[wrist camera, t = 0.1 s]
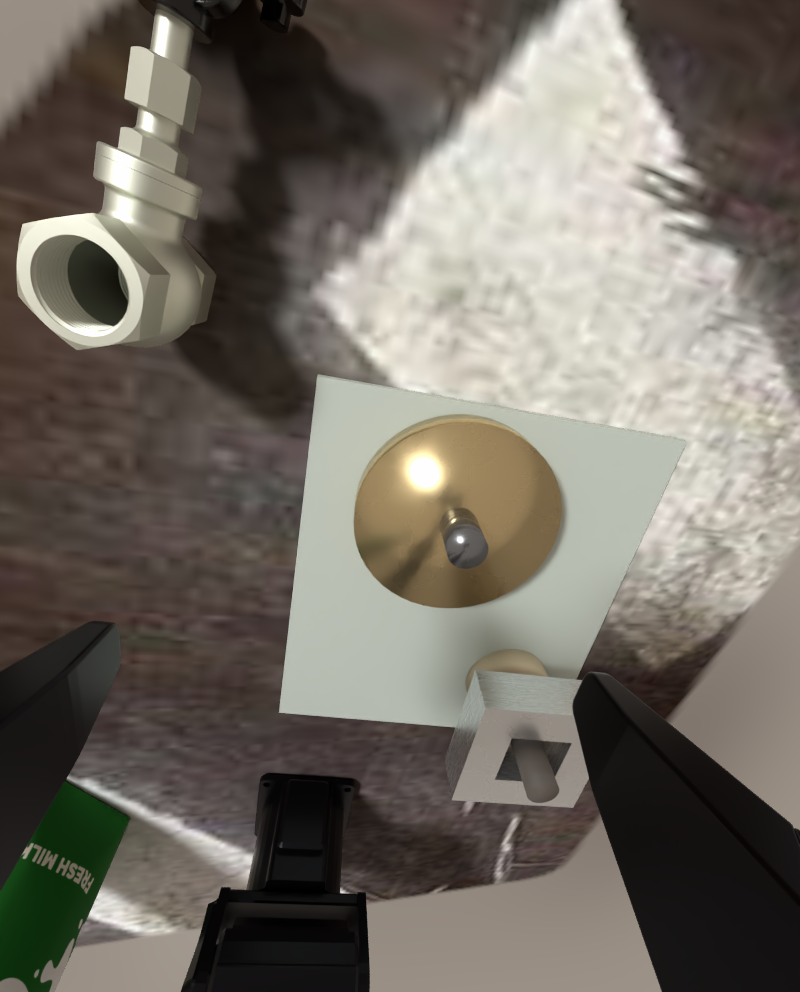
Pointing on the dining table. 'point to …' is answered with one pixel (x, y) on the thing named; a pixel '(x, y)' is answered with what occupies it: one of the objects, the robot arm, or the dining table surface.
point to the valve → (137, 204)
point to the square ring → (521, 715)
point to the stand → (526, 752)
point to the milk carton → (55, 889)
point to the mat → (469, 630)
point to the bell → (456, 511)
